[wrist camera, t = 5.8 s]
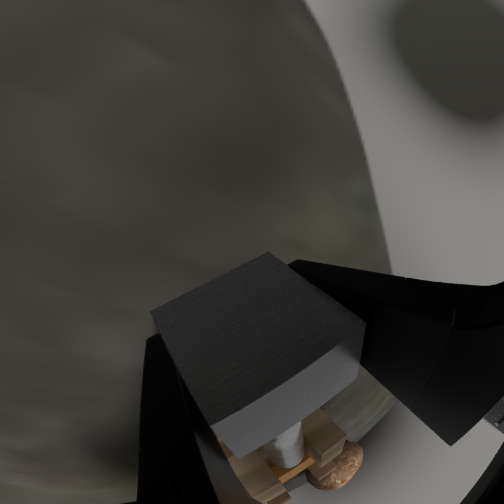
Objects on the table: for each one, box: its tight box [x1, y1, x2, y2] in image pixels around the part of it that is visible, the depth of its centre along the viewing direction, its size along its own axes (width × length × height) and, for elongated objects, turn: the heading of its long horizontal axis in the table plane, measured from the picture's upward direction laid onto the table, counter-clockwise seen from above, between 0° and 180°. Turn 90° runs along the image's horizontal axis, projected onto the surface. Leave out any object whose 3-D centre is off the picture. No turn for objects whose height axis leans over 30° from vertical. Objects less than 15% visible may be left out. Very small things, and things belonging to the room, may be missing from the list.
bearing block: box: [214, 408, 347, 504], centre depth 16 cm, size 10×7×5 cm
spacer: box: [271, 451, 315, 483], centre depth 17 cm, size 2×4×3 cm, turn 103°
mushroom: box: [306, 440, 363, 490], centre depth 29 cm, size 8×8×6 cm
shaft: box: [150, 252, 366, 468], centre depth 10 cm, size 12×4×4 cm, turn 13°
